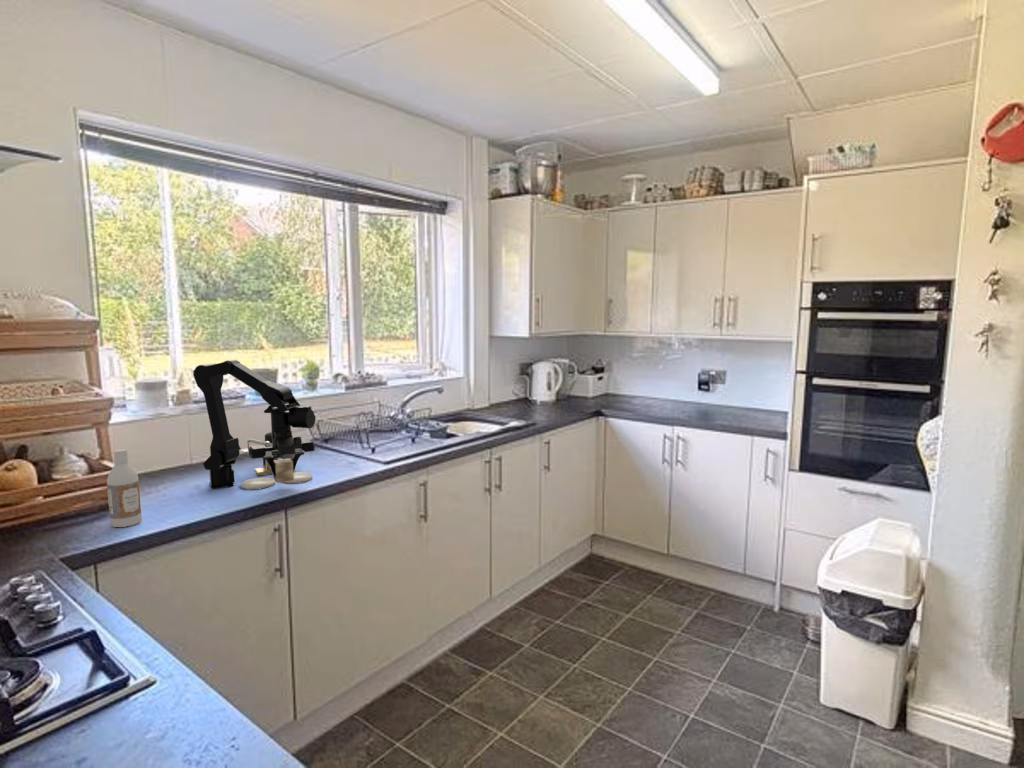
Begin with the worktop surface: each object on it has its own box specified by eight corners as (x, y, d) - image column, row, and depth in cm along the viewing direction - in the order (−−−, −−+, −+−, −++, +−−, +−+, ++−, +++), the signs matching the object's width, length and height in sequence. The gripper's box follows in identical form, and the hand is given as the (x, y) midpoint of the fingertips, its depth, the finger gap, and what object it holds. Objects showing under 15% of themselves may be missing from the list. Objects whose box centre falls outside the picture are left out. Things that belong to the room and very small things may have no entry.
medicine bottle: (263, 468, 210) (261, 435, 208) (266, 463, 217) (264, 431, 215) (284, 466, 212) (282, 434, 210) (286, 461, 219) (285, 430, 217)
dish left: (244, 491, 183) (244, 488, 183) (238, 483, 191) (238, 480, 191) (277, 486, 188) (277, 483, 188) (271, 478, 197) (271, 475, 197)
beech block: (277, 482, 182) (276, 463, 181) (273, 478, 186) (272, 460, 185) (293, 480, 185) (292, 461, 184) (289, 476, 189) (289, 458, 188)
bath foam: (119, 530, 150) (113, 454, 148) (105, 525, 154) (98, 451, 151) (147, 521, 156) (141, 449, 154) (132, 517, 160) (126, 446, 157)
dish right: (284, 485, 190) (284, 482, 189) (277, 477, 198) (277, 474, 198) (315, 480, 195) (315, 477, 195) (307, 473, 203) (307, 470, 203)
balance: (241, 478, 197) (239, 441, 196) (238, 474, 202) (236, 438, 201) (297, 470, 207) (296, 435, 206) (293, 466, 212) (291, 432, 211)
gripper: (254, 434, 171) (256, 486, 173) (318, 428, 182) (320, 476, 184) (247, 428, 181) (249, 477, 182) (308, 422, 191) (310, 468, 193)
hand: (283, 475), depth 185 cm, fingers closed on beech block, 5 cm apart
